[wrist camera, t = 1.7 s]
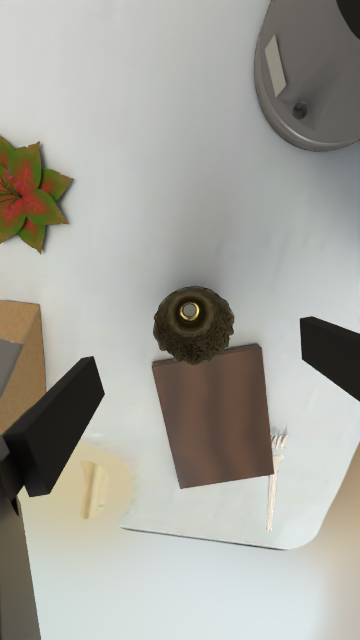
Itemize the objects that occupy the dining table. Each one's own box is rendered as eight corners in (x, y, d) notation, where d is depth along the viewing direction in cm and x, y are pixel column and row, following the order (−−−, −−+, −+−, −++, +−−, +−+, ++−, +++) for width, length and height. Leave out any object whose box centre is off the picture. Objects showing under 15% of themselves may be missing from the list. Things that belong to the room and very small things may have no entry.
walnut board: (257, 343, 29) (261, 347, 28) (270, 465, 34) (274, 474, 32) (152, 362, 29) (151, 367, 28) (180, 479, 34) (180, 489, 33)
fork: (257, 526, 37) (261, 540, 36) (264, 425, 33) (269, 435, 31) (276, 525, 38) (282, 539, 36) (285, 424, 33) (292, 434, 31)
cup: (231, 307, 28) (252, 323, 20) (192, 349, 29) (197, 380, 21) (186, 267, 27) (190, 268, 19) (147, 313, 28) (136, 332, 20)
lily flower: (-49, 217, 25) (-98, 206, 20) (-12, 107, 23) (-59, 68, 18) (51, 272, 27) (26, 274, 22) (95, 176, 24) (76, 155, 20)
